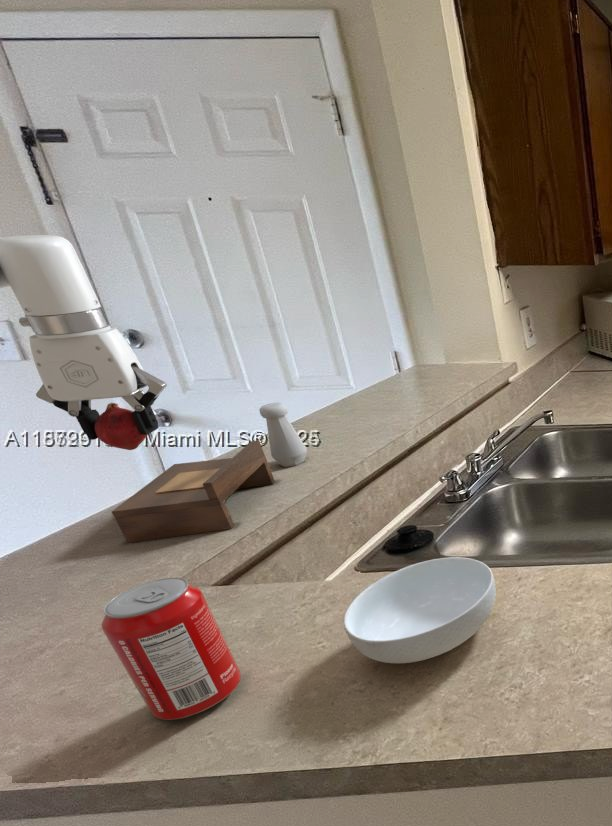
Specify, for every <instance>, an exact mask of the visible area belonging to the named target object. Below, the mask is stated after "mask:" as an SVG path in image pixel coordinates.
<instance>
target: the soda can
mask: <svg viewBox="0 0 612 826" xmlns="http://www.w3.org/2000/svg"><path fill="white" fill-rule="evenodd" d="M103 613H104V615H105V616H104V618H103V620H102V621H101V630H102V631H103V633H104V635H105V637H106V638H107V639H108V640H107V641H108V642H109V643H110V645H111V647H112V649H113V650H114V652H115V654H116V655H117V657H118V659H119V661H120V662H121V664H122V666H123V667H124V669H125V671H126V672H127V675H128V676H129V678H130V680H131V681H132V683H133V685H134V686H135V688H136V690H137V691H138V693H139V696H141V698H142V700H143V702H144V703H145V705H146V707H147V708H148V710H149V712H150V713H151V715H153V717H155V718H157V719H159V720H163V721H164V720H166V721H167V720H168V721H171V720H179V719H184V718H188V717H192V716H194V715H197V714H200V713H202V712H205V711H207V710H208V709H210V708H211V709H212V708H213V707H214V706H216V705H217V704H219V703H220V702H222V701H223V700H224V699H226V698H227V697H229V696H230V695H231V694H232V693H233V692H234V691H235V690H236V688H237V687H238V685H239V684H240V681H241V679H242V674H241V670H240V668H239V666H238V664H237V663H236V659H235V658H234V656H233V654H232V651H231V650H230V648H229V645H228V644H227V641H226V640H225V638H224V635H223V633H222V631H221V629H220V627H219V625H218V622H217V621H216V618H215V617H214V614H213V612H212V610H211V608H210V606H209V604H208V602H207V599H206V598H205V596H204V594H203V593H202V591H201V589H200V588H198V587H196V586H194V585H191V584H189V583H188V581H187V580H186V579H184V578H180V577H166V578H159V579H155V580H151V581H147V582H144V583H142V584H141V583H140V584H139V585H136V586H134V587H131V588H129V589H126V590H124V591H123V592H121V593H119V594H117V595H116V596H114V597H113V598H112V599H110V600H109V601H108V602H107V603H106V604H105V605H104V606H103Z"/></svg>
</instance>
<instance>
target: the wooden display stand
mask: <svg viewBox="0 0 612 826" xmlns="http://www.w3.org/2000/svg"><path fill="white" fill-rule="evenodd" d="M270 467H271V466H270V465H269V462H268V460H267V457H266V454H265V452H264V450H263V447H262V444H261V442H260V440H251V441H250V442H248V444H247V445H245V446H244V447H243V448H242V449H241V450H239V452H237V453H236V454H235V455H234V456H233V457H228V458H221V459H220V458H219V459H209V460H199V461H190V462H181V463H174V464H172V465H171V466H169V467H168V468H167V469H166V470H164V471H163V472H162V473H161V474H159V475H158V476H157V477H155V478H154V479H153V480H151V481H150V482H148V483H147V484H146V485H145V486H143V487H142V488H141V489H139V490H138V491H137V492H135V493H134V494H132V495H131V496H130V497H129V498H127V499H126V500H125V501H124V502H123V503H121V504H120V505H118V506H117V507H115V508H114V509H113V510H111V514H112V515H113V518H114V519H115V521H116V523H117V525H118V527H119V529H120V531H121V533H122V535H123V537H124V538H125V541H126V543H127V544H129V543H137V542H144V541H151V540H159V539H167V538H174V537H182V536H188V535H196V534H197V535H198V534H203V533H210V532H217V531H225V530H231V529H233V528H234V527H235V523H234V521H233V518H232V516H231V514H230V512H229V510H228V507H227V505H226V503H225V501H226V500H227V499H228V498H229V497H230V496H232V494H233V493H234V492H235V491H236V490H237V489H246V488H253V487H254V488H255V487H262V486H270V485H271V486H272V485H274V483H276V479H275V478H274V475H273V473H272V470H271V468H270Z"/></svg>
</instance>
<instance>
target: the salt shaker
mask: <svg viewBox="0 0 612 826" xmlns="http://www.w3.org/2000/svg"><path fill="white" fill-rule="evenodd" d="M288 413H289V408H288V407H287V405H286V404H285V403H283V402H269V403H267V404H264V405H262V406H260V408H259V414H260V416H261V417H262V418H263V419H265V420H266V426H267V434H268V441H269V449H270V455H271V457H272V459H273V460H274V461H275V462H277V463H278V465H280V466H282V467H284V468H287V467H295V466H298V465H300V464H303V463H305V460H306V456H307V453H308V448H307V446H306V445H305V443H304V442H303V440H302V439H301V437H300V436H299V434H298V433H297V431H296V429H295V428H294V426H293V424H292V423H291V421H290V420H289V418H288V417H287V414H288Z"/></svg>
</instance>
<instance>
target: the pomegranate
mask: <svg viewBox="0 0 612 826" xmlns="http://www.w3.org/2000/svg"><path fill="white" fill-rule="evenodd" d="M134 411H135V410H134ZM134 411H133V410H131V409H128V408H123V407H120V406H119V404H118V403H116V402H109V403H108V404H107V405H106V408H105V410H104V411H103V412H101V414H99V415H100V416H99V417H98V418H97V420H96V422H95V432H96V435H97V436H98V438H97V439H99V440H100V441H101V442H102V443H103V444H105V445H107V446H110V447H112V448H117V449H121V450H128V451H133V450H136V449H137V448H138V447H140V445H141V444H142V443H143V442H144V441H145V440H146V438H147V437H148V435H143V434H141V433H140V431H139V429H138V427H137V424H136V422H135V420H134V418H133V416H132V412H134Z"/></svg>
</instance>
